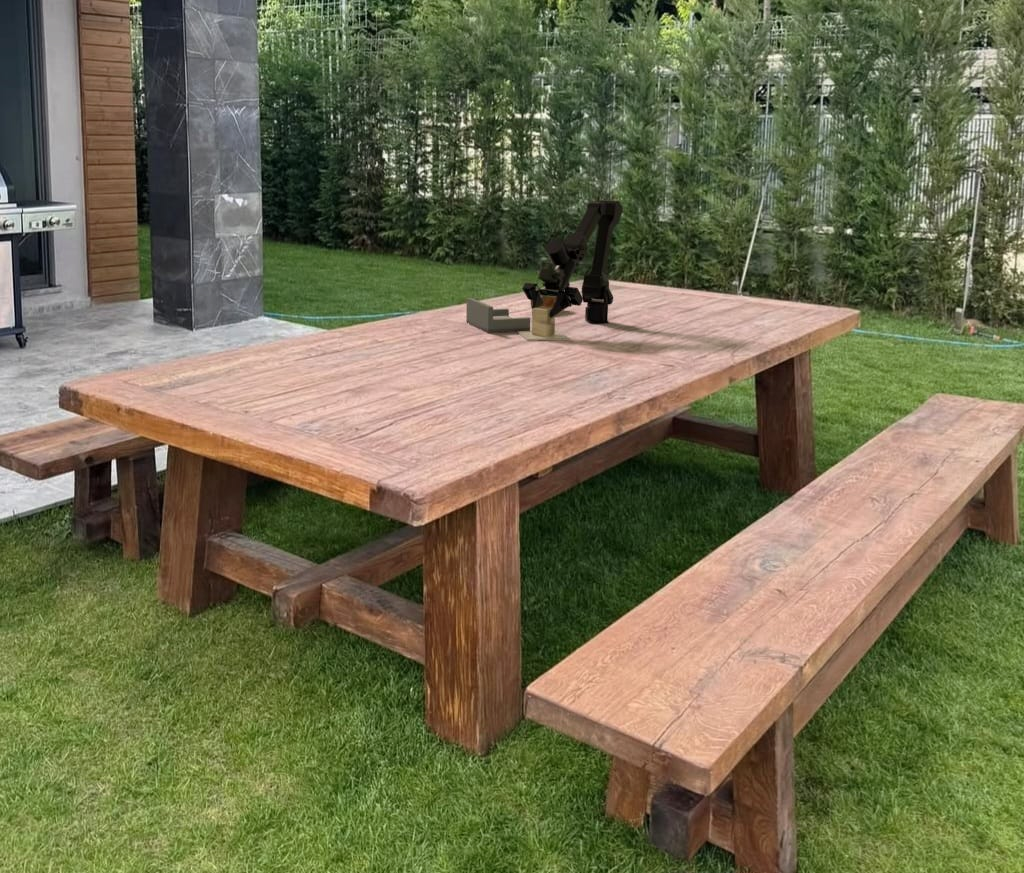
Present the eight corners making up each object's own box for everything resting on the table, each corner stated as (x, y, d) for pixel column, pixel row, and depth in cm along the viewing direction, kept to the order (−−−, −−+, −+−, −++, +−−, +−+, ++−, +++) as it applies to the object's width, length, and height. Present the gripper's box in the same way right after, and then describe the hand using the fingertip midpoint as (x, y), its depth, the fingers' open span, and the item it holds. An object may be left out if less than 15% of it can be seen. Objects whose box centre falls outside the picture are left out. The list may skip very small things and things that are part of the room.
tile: (558, 332, 343) (558, 330, 342) (569, 340, 330) (569, 338, 330) (517, 333, 340) (517, 331, 340) (527, 341, 328) (527, 339, 327)
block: (540, 332, 338) (540, 306, 336) (554, 333, 336) (555, 307, 333) (531, 334, 334) (532, 308, 332) (546, 336, 332) (546, 310, 329)
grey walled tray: (506, 320, 361) (507, 296, 359) (529, 330, 344) (530, 305, 342) (466, 322, 356) (466, 297, 354) (487, 333, 339) (488, 307, 336)
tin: (536, 314, 374) (536, 289, 372) (528, 313, 376) (529, 289, 374) (561, 309, 386) (562, 285, 384) (554, 308, 388) (554, 284, 385)
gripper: (526, 255, 337) (505, 296, 331) (579, 260, 327) (559, 302, 321) (538, 279, 345) (519, 318, 339) (591, 284, 336) (572, 325, 330)
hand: (541, 315), depth 332 cm, fingers open, 6 cm apart
